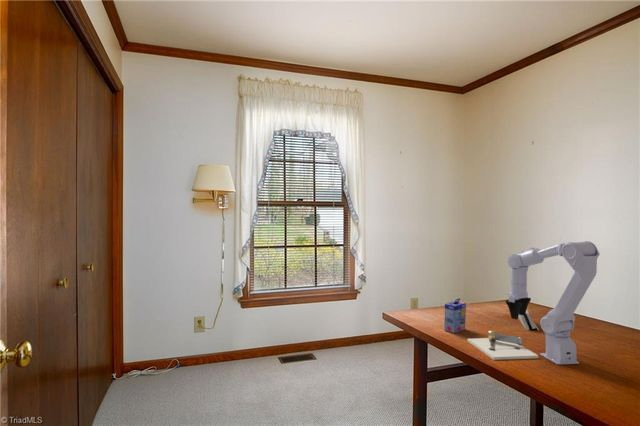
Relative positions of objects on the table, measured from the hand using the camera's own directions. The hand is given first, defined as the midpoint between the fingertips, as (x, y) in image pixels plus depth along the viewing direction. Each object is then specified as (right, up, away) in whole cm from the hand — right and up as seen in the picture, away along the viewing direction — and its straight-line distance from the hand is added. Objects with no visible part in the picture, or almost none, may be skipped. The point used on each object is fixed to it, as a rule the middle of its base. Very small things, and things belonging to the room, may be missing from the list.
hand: (518, 316), depth 149 cm
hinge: (+17, -11, +25) cm, 32 cm away
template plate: (-10, -11, -6) cm, 16 cm away
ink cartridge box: (-19, -12, +19) cm, 29 cm away
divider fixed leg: (-13, -10, -5) cm, 17 cm away
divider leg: (-7, -9, -3) cm, 12 cm away
